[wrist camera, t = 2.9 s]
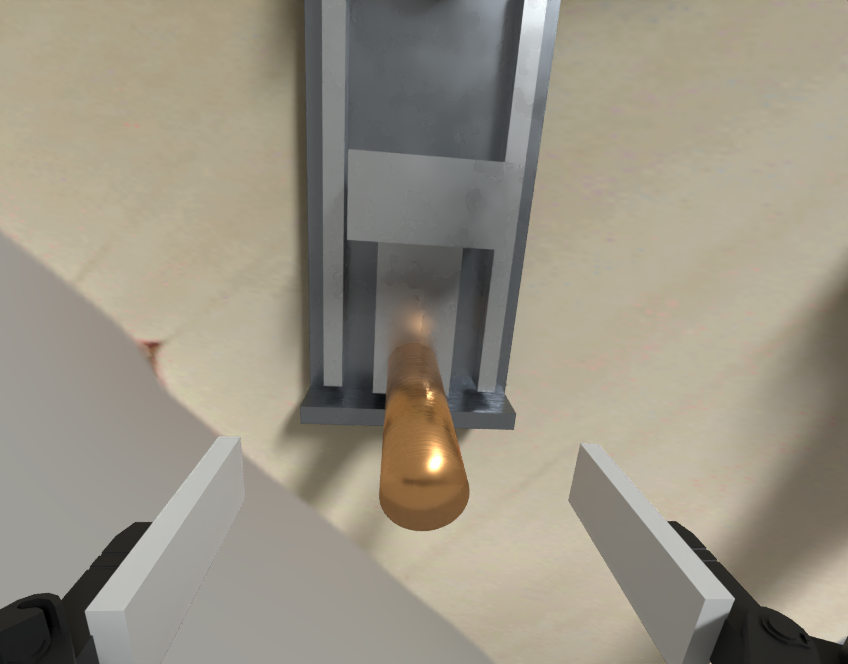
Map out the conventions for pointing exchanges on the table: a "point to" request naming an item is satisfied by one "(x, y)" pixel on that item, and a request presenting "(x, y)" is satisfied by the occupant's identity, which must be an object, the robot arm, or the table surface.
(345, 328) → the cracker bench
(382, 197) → the ram handle
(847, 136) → the table surface
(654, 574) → the robot arm
